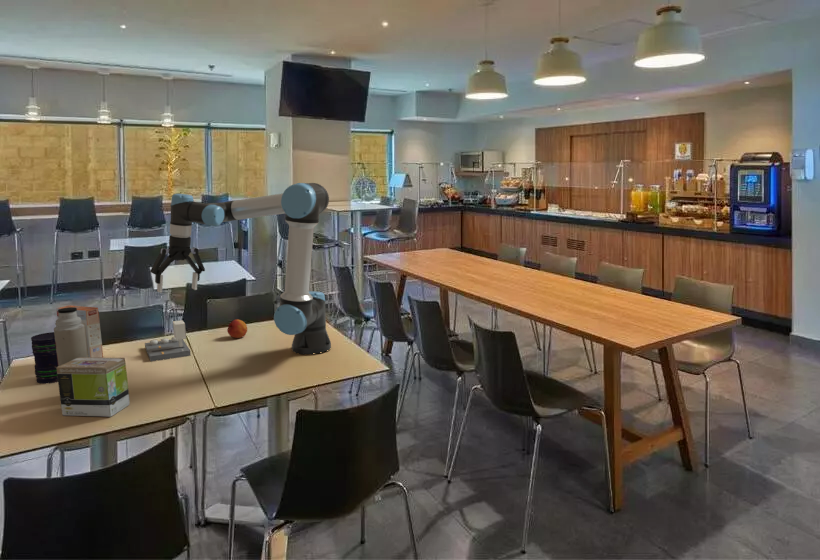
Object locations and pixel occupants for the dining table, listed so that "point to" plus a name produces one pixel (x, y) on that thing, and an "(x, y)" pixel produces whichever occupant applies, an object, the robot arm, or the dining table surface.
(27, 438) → the dining table surface
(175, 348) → the console
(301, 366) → the dining table surface
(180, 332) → the block
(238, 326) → the fruit
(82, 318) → the cracker box
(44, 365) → the black striped canister
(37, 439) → the dining table surface
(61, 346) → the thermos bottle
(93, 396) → the tea box
